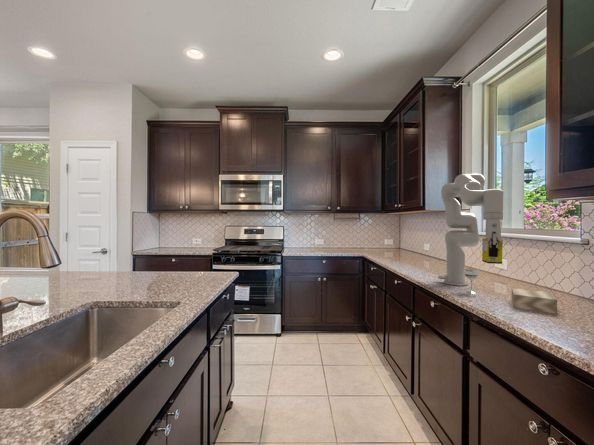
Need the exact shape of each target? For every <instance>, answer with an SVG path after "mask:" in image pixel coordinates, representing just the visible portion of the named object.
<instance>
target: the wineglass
mask: <svg viewBox="0 0 594 445" xmlns="http://www.w3.org/2000/svg"><path fill="white" fill-rule="evenodd" d="M479 271H480V269H476V268H465V272H464V275H465V278H467V279H468V280H469V281H470V290H468V291H466V294H473V295H477V294H478V292H476V291H473V281H474V280H476V279H478V278H479V277H480V272H479Z"/></svg>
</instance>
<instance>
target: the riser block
mask: <svg viewBox="0 0 594 445" xmlns="http://www.w3.org/2000/svg"><path fill="white" fill-rule="evenodd" d="M511 303H512V307H513V308H514V309H521V310H528V311H533V312H534V311H535V312H541V313H549V314H558V299H557V298H556V296H555V295H554V294H553V292H549V291H541V290H531V289H522V288H514V287H513V288H512V287H511Z"/></svg>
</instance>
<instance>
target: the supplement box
mask: <svg viewBox="0 0 594 445" xmlns="http://www.w3.org/2000/svg"><path fill="white" fill-rule="evenodd" d="M491 241H493V240H492V239H491ZM481 242H482V243H481V244H482V245H481V246H482V250H481V255H482V256H481V258H482V260H481V262H484V263H486V264H497V265H501V264H503V244H504V243H503V242H504V240H503V239H502V238H501V242H499V241H498V239H497V246H498V257H489V248H490V242H489V241H488V239H486V237H485V238H482V241H481Z"/></svg>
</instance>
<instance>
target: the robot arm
mask: <svg viewBox="0 0 594 445" xmlns="http://www.w3.org/2000/svg"><path fill="white" fill-rule="evenodd" d="M485 184H486V179H485V177H484V175H483V174H481V173H461V174H459V175H457V176H456V177H455V178H454V182H448V183H445V184H443V185H442V187H441V190H440V194H441V199H442V202H443V204H444V210H445V222H446V225H447V227H448V228H450V229H453V230H449V231H447V232H446V233H445V235H444V241H445V248H446V274H445V275H438V276H437V278H438V279H439V280H443V283H444V284H446V285H449V286H457V287H458V286H461V287H463V286H468V283H469V282H467V281H465V280H466V276H465V275H464V272H465V269H466V254H465V252H464V250H463V249H462V247H465V248H466V247H467V248H469V247H470V248H471V247H476V246H478V245H479V241H480V238H479V237H480V236H479V227H478V219H477V217H476V215H475V214H474V213H473V212H463V211H462V205H461V202H462V203H463V204H464V205H465V206H470V207H482V220H483V221H485V238H486V239H488V241H489V242H490V248H489V257H498V246H497V239H498V241H499V242H501V239H502V225H501V222H502V221H503V220H504V191H503V189H501V188H490V189H483V188H484V186H485ZM482 189H483V190H482ZM456 198H459V199H460V201H461V202H459V200H457V199H456ZM454 229H456V230H454ZM457 229H459V230H457ZM460 229H461V230H460ZM462 229H464V230H462ZM465 229H466V230H465ZM491 239H492V240H493V241H491Z"/></svg>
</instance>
